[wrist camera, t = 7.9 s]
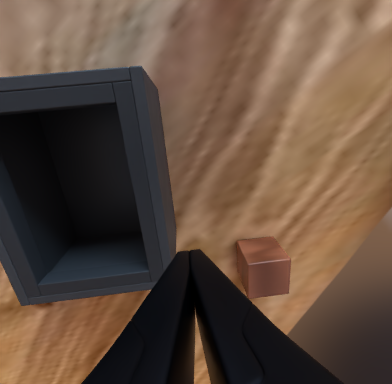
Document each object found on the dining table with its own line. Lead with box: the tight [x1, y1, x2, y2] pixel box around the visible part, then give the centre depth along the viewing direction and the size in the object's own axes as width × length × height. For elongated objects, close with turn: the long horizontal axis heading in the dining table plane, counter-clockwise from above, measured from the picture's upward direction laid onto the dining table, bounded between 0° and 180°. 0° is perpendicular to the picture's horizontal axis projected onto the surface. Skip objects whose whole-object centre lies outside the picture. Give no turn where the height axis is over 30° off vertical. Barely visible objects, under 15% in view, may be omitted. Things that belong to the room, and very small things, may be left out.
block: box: [237, 237, 291, 299], centre depth 22 cm, size 4×4×4 cm
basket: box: [0, 66, 176, 306], centre depth 16 cm, size 8×13×10 cm
